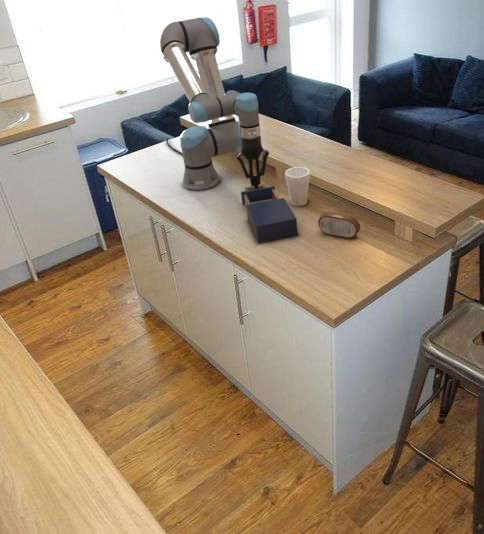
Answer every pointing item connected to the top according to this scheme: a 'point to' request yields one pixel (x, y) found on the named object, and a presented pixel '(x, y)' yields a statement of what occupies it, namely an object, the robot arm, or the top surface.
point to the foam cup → (298, 185)
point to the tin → (338, 225)
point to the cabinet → (271, 220)
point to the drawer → (258, 194)
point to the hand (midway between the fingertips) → (256, 192)
